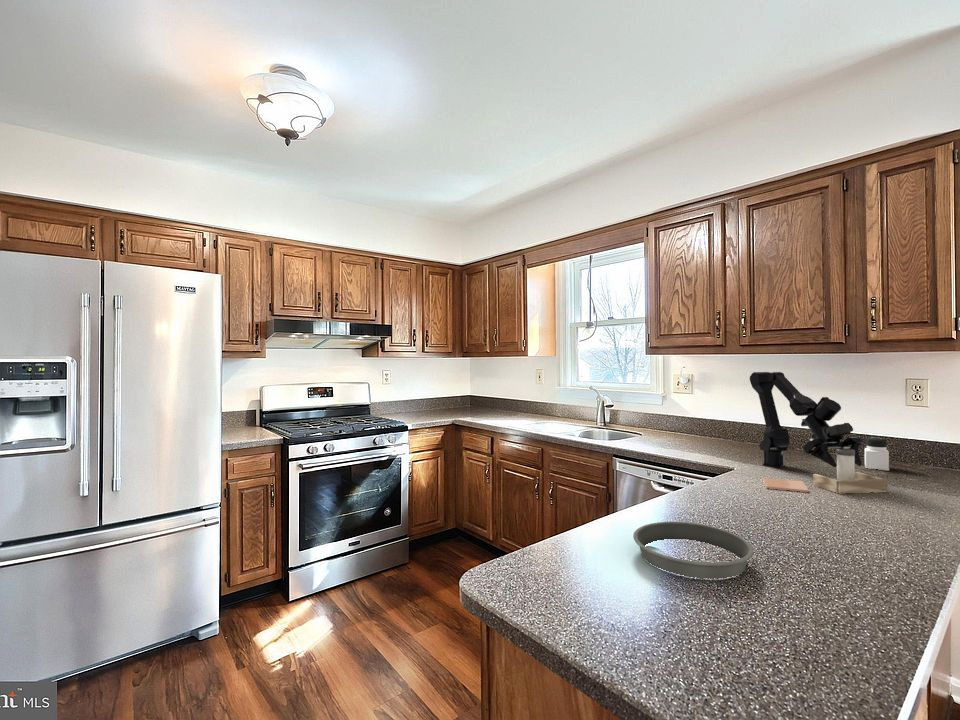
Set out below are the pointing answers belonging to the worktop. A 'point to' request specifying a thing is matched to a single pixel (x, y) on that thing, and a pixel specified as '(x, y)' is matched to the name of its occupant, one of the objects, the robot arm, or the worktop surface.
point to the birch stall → (852, 484)
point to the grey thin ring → (699, 534)
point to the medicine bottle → (877, 454)
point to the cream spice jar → (845, 464)
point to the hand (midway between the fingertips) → (848, 466)
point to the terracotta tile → (785, 485)
